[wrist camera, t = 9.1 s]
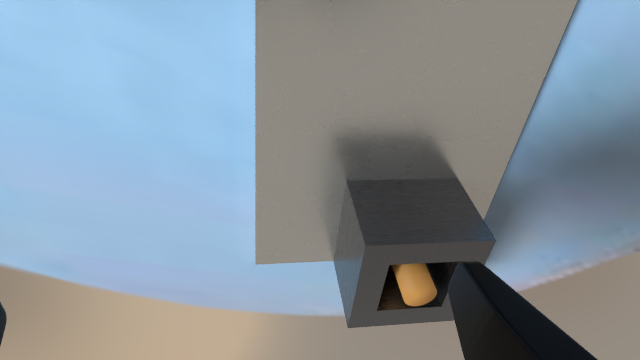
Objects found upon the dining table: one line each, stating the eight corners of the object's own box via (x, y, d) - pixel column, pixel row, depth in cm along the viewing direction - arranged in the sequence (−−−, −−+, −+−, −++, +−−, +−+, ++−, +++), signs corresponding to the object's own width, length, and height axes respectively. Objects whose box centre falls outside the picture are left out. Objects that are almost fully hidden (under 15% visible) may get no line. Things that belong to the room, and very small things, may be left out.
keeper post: (409, 210, 24) (440, 283, 21) (403, 231, 25) (432, 305, 22) (380, 211, 24) (407, 285, 20) (375, 232, 25) (400, 307, 21)
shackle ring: (457, 178, 23) (495, 240, 20) (430, 256, 27) (458, 319, 24) (346, 180, 22) (365, 245, 19) (333, 260, 26) (347, 327, 23)
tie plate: (643, -183, 15) (734, -184, 12) (465, 247, 28) (490, 294, 25) (255, -234, 13) (258, -249, 10) (255, 256, 26) (257, 308, 23)
